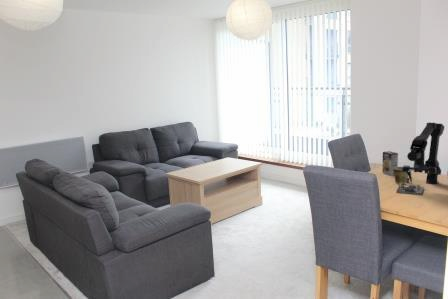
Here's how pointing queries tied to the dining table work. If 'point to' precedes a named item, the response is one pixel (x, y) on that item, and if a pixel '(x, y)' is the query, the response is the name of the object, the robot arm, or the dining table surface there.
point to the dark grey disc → (409, 184)
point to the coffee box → (389, 162)
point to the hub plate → (417, 190)
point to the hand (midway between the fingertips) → (418, 182)
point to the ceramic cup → (400, 175)
